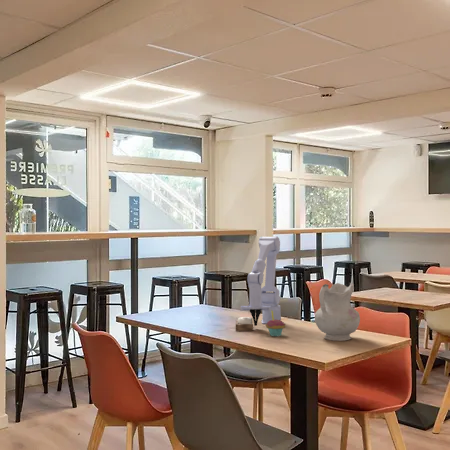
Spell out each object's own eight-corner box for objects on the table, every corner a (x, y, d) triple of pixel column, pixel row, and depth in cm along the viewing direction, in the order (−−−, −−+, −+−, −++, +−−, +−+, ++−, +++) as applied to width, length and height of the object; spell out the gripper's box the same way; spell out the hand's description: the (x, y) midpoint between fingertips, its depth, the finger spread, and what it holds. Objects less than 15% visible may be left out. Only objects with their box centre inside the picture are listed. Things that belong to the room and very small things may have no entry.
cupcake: (272, 337, 250) (272, 310, 250) (262, 334, 258) (262, 308, 258) (288, 335, 254) (288, 309, 254) (278, 332, 262) (278, 306, 262)
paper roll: (252, 327, 276) (251, 316, 276) (252, 329, 269) (252, 319, 269) (238, 327, 276) (238, 316, 276) (238, 330, 269) (238, 319, 269)
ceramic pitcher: (347, 348, 233) (351, 288, 232) (303, 339, 244) (307, 282, 243) (364, 339, 252) (368, 283, 251) (323, 331, 262) (326, 278, 261)
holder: (252, 326, 278) (252, 320, 278) (252, 330, 267) (252, 324, 267) (235, 326, 278) (235, 320, 278) (235, 330, 267) (235, 324, 267)
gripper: (240, 298, 268) (240, 326, 268) (270, 298, 268) (271, 326, 268) (240, 296, 275) (240, 324, 275) (270, 296, 275) (270, 324, 275)
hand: (255, 325), depth 272 cm, fingers closed
